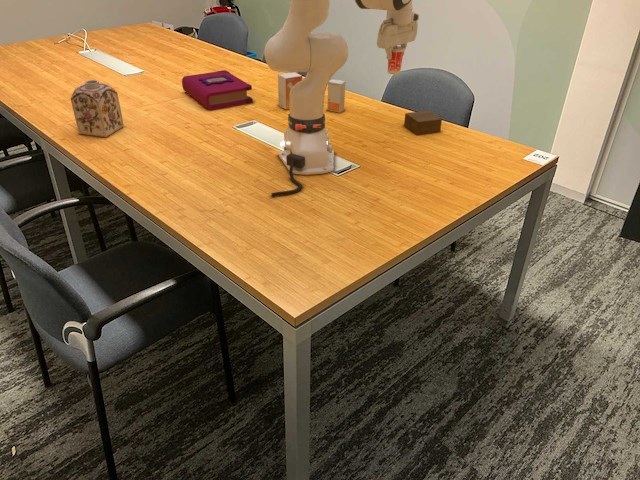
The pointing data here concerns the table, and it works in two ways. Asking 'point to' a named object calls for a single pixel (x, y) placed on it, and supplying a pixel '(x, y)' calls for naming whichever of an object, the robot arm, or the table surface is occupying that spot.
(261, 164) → the table surface
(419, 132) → the walnut block
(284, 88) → the small box
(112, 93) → the decorative jar
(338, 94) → the cosmetic box
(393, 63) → the beverage cup
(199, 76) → the book
